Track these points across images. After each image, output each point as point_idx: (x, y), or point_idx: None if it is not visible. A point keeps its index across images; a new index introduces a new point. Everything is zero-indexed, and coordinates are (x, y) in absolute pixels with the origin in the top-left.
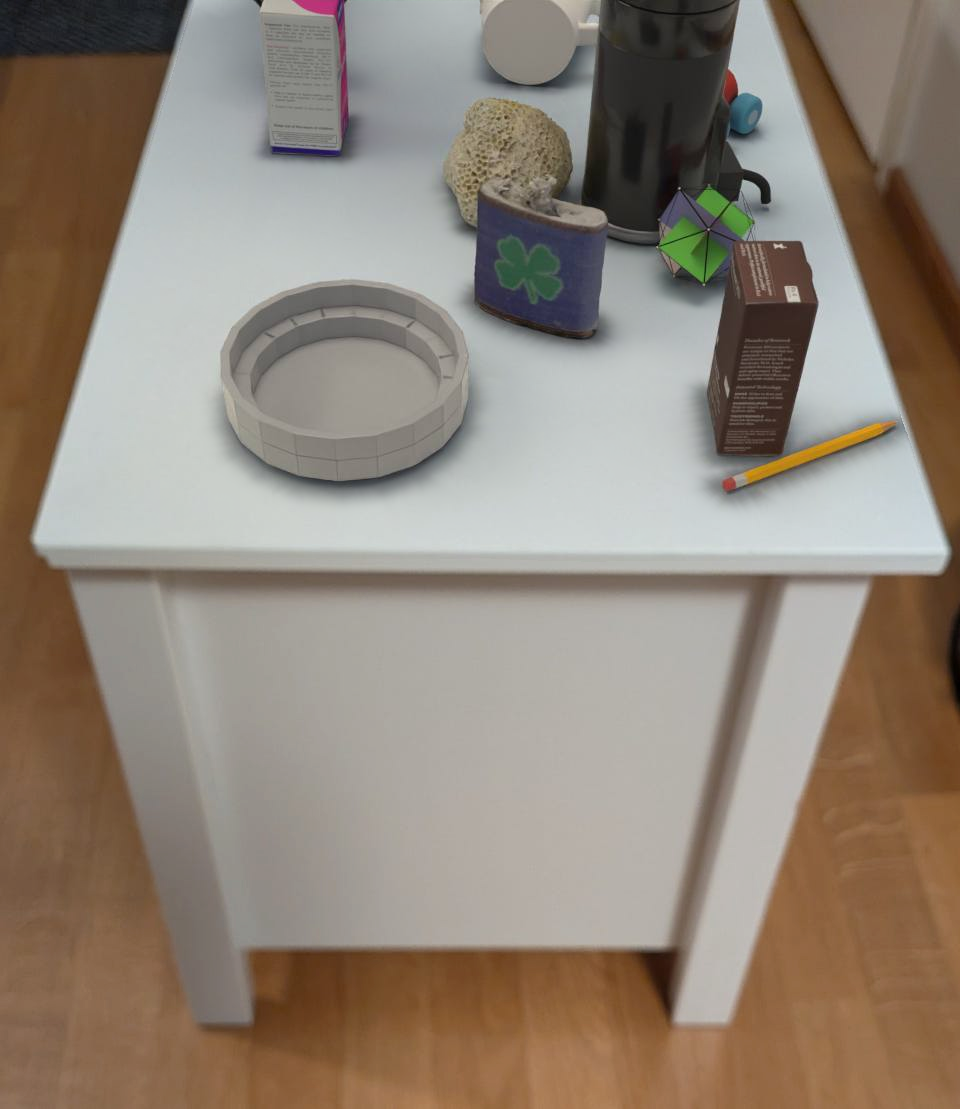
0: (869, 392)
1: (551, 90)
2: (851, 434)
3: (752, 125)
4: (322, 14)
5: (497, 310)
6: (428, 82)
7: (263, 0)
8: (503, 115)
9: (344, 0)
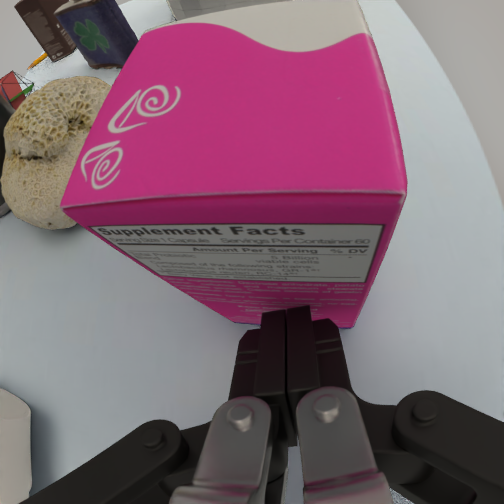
0: (23, 81)
1: (4, 381)
2: (43, 54)
3: None
4: (168, 25)
5: None
6: (112, 436)
7: (440, 395)
8: (33, 97)
9: (157, 486)
